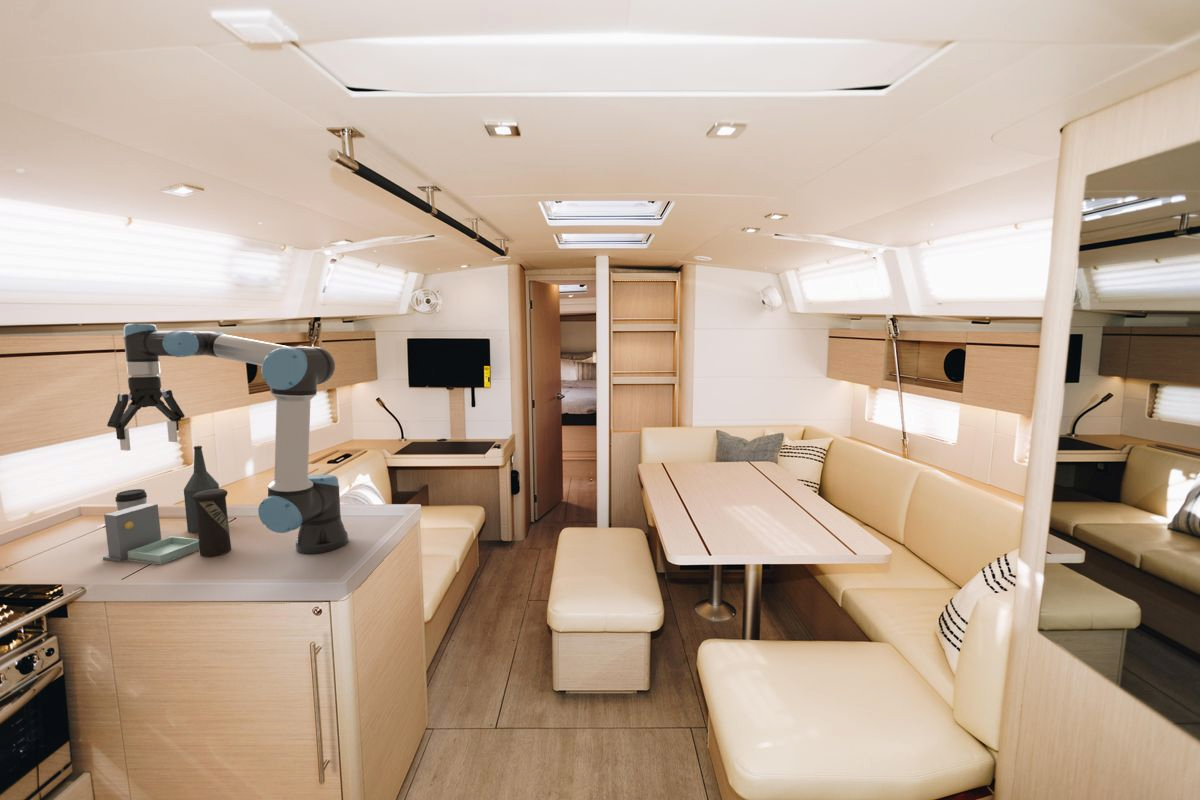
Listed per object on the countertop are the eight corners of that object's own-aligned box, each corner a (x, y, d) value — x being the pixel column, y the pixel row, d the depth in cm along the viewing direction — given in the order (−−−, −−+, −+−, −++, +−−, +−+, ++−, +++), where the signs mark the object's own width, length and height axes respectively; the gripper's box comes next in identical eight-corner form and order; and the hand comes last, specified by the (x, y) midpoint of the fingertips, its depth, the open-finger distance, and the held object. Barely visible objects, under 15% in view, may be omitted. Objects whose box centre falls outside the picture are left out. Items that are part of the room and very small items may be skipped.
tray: (203, 548, 173) (202, 539, 173) (161, 564, 161) (160, 555, 160) (172, 544, 177) (171, 536, 176) (128, 560, 164) (127, 551, 164)
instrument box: (167, 544, 177) (163, 503, 175) (119, 561, 163) (114, 517, 162) (151, 542, 178) (147, 501, 177) (103, 559, 165) (98, 515, 163)
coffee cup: (154, 532, 188) (150, 490, 187) (124, 540, 181) (119, 496, 180) (145, 528, 193) (141, 487, 191) (115, 535, 186) (110, 493, 184)
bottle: (181, 531, 189) (172, 447, 186) (209, 522, 198) (202, 442, 195) (200, 535, 185) (192, 449, 182) (229, 525, 194) (221, 444, 191)
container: (215, 558, 165) (209, 495, 163) (191, 556, 167) (184, 493, 165) (239, 547, 173) (233, 487, 171) (216, 545, 175) (210, 486, 173)
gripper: (176, 373, 173) (181, 437, 176) (86, 378, 149) (93, 453, 152) (194, 373, 171) (199, 439, 174) (106, 379, 147) (113, 454, 150)
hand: (150, 445), depth 163 cm, fingers open, 13 cm apart
